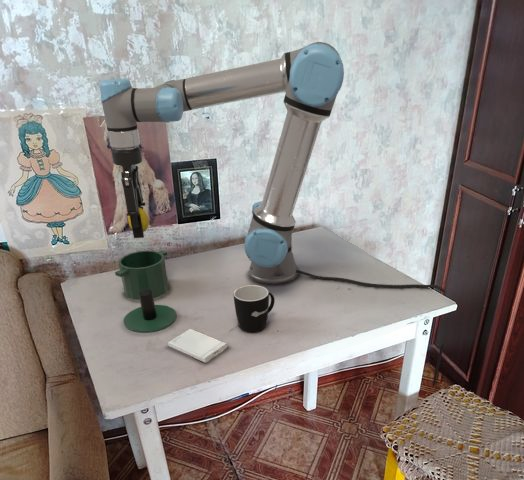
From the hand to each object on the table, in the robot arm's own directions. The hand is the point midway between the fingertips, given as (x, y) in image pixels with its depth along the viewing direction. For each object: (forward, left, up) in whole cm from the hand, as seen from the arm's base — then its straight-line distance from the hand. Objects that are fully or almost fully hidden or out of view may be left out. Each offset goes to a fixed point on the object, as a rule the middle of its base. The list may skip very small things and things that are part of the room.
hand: (140, 233), depth 141 cm
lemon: (0, 0, -1) cm, 1 cm away
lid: (-13, +13, -18) cm, 25 cm away
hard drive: (-33, +16, -19) cm, 41 cm away
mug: (-39, -1, -19) cm, 43 cm away
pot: (+1, +1, -18) cm, 18 cm away
